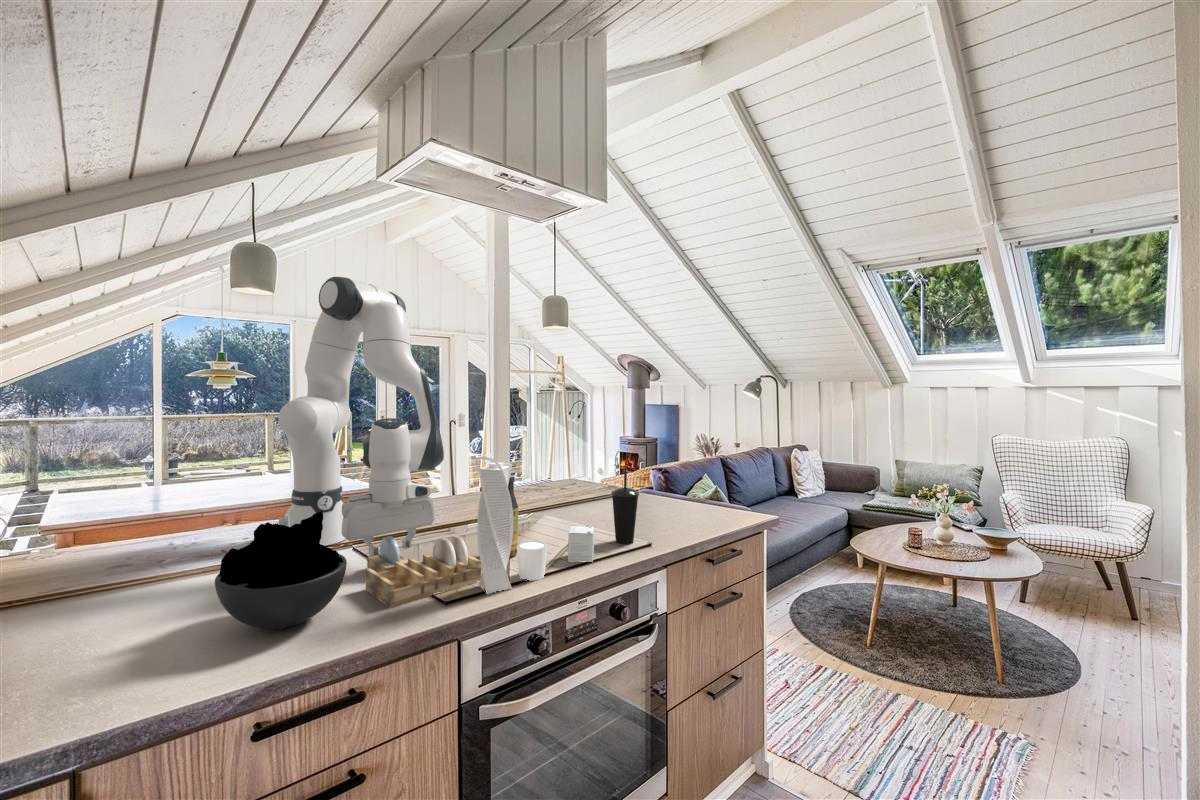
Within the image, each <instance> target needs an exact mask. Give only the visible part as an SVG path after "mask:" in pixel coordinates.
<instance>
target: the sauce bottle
mask: <svg viewBox="0 0 1200 800" xmlns="http://www.w3.org/2000/svg"><path fill="white" fill-rule="evenodd" d="M515 480H516V479H515V476H514V475H513V474H511V475H510V479H509V484H508V489H509V493H510V497H511V502H512V508H513V538H512V546H511V551H510V556H509V558H511V557H515V556H516V555H517V545H518V544H519V505H518V502H517V498H516V496H515V489H514V487H515V485H514V484H515Z"/></svg>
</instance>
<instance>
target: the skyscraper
mask: <svg viewBox="0 0 1200 800" xmlns="http://www.w3.org/2000/svg"><path fill="white" fill-rule="evenodd" d="M479 460H486V461H489V463H488V465H485V466H484V467H481V466H480V462H479ZM475 462H476V466H477V469H478V474H479V480H480V485H481V486H480V487H481V492H480V497H479V503H478V510H477V523H476V524H477V525H476V527H477V529H476V531H477V545H478V546H477V547H478V556H479V560H480V562H481V579H480V582H478V586H479V585H480V586H482V587H483V588H484V589H485V590H486V592H485V593H486V595H490V594H493V592H494V593H497V592H496V591H499V592H503V591H502V590H504V591H508V589H509V590H513V588H512V585H511V582H510V579H509V575H508V573H507V569H508V565H509V560H510V557H509V556H510V551H511V546H512V538H513V508H512V502H511V497H510V493H509V489H508V484H509V479H510V475H512V474H511V473H512V469H513V464H512V463H510V462H507V461H498V460H497V461H496V460H495V459H494V458H491V457H487V456H478V457H476V458H475ZM480 586H479V587H480Z"/></svg>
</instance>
